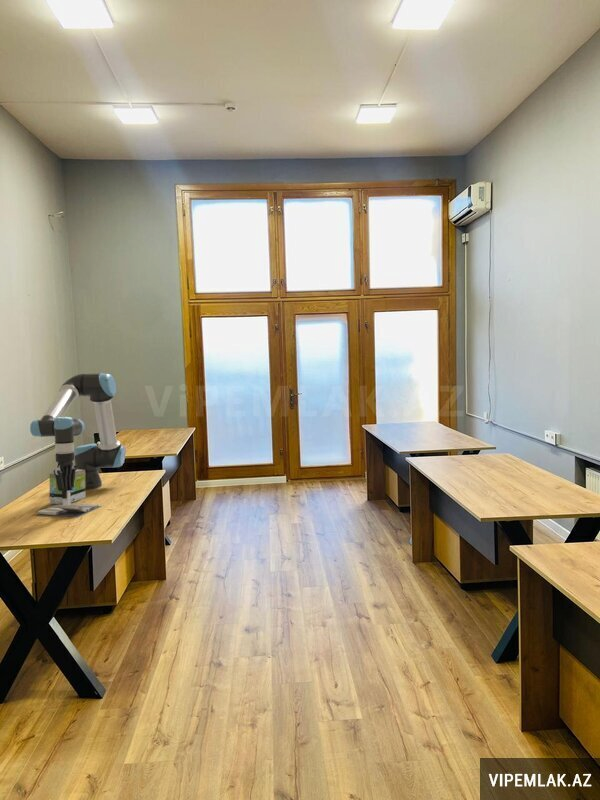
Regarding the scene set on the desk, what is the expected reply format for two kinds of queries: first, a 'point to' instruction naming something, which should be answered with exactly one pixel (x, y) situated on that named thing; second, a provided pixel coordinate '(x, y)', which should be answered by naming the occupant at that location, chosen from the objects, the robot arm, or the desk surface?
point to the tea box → (76, 493)
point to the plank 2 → (72, 508)
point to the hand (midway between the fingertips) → (66, 505)
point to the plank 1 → (51, 511)
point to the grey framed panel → (69, 514)
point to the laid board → (85, 506)
